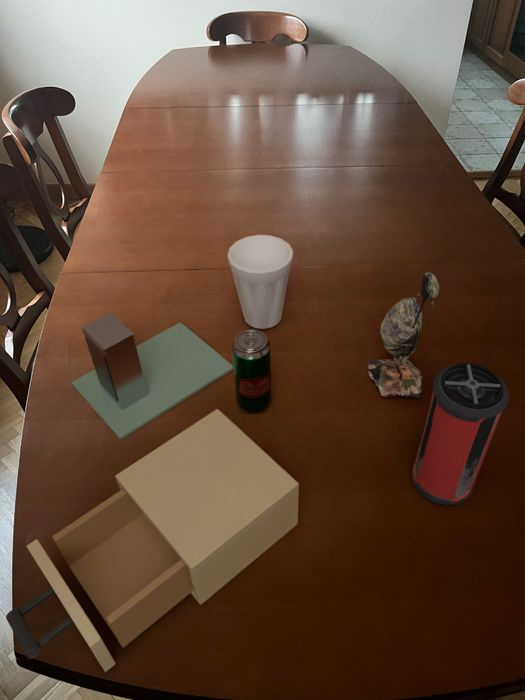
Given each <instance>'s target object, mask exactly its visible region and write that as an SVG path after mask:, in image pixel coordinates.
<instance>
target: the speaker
mask: <svg viewBox="0 0 525 700" xmlns="http://www.w3.org/2000/svg"><path fill="white" fill-rule="evenodd" d="M432 387H433V390H432V395H431V398H430V402H429V403H430V404H429V407H428V412H427V415H426V419H425V423H424V427H423V431H422V435H421V439H420V443H419V446H418V450H417V452H416V457H415V459H414V461H413V464H412V467H411V471H410V472H411V474H410V477H411V481H412V483H413V486H414V487H415V489H416V490H417V491H418V493H419V494H421V495H422V496H423V497H424V498H426V499H427V500H429V501H431V502H434V503H436V504H440V505H444V506H445V505H446V506H453V505H458V504H460V503H463V502H465V501H466V500H468V499H469V498H470V497H471V495H472V494H473V492H474V489H475V486H476V482H477V477H478V475H479V472H480V470H481V467H482V465H483V462H484V459H485V456H486V454H487V452H488V449H489V446H490V443H491V441H492V439H493V437H494V434H495V431H496V428H497V426H498V423H499V420H500V418H501V415H502V413H504V412H505V410H506V408H507V406H508V403H509V400H510V398H509V397H510V393H509V389H508V387H507V384H506V383H505V382H504V380H503V379H502V378H501V377H500V376H499V375H498V374H496V373H495V372H494V371H492V370H491V369H489V368H488V367H486V366H483V365H480V364H477V363H473V362H461V363H453V364H450V365H446V366H445V367H443V368H441V369H440V370H439V371H438V372H437V373H436V375H435V377H434V380H433V383H432Z"/></svg>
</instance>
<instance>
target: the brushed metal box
mask: <svg viewBox="0 0 525 700" xmlns="http://www.w3.org/2000/svg"><path fill="white" fill-rule="evenodd" d="M81 330H82V333H83V337H84V338H85V343H86V346H87V349H88V352H89V355H90V357H91V361H92V364H93V367H94V369H95V370H96V374H97V377H98V380H99V383H100V386H101V388H102V389H103V390H104V391H105V392H106V393H107V394H108V395H109V396H110V397H111V399H112V400H113V401H114V402H115V403H116V404H117V405H118V406H119V407H120V408H121V409H122V410H123V409H125V408H127V407H128V406H130V405H132V404H133V403H135V402H137V401H138V400H140V399H142V398H143V397H145V396H147V395H148V392H147V388H146V384H145V380H144V376H143V372H142V368H141V364H140V359H139V355H138V351H137V347H136V346H137V344H136V339H135V335H134V333H133V331H131V330H130V329H129V328H128V327H127V326H125V324H123V323H122V322H121V321H120V320H119V319H118V318H117V317H115V315H114V314H113V313H111V312H108V313H106V314H104V315H102V316H100V317H98V318H95V319H93V320H92V321H90V322H88V323H86V324H84V325H82V326H81Z"/></svg>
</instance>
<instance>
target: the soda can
mask: <svg viewBox="0 0 525 700" xmlns="http://www.w3.org/2000/svg"><path fill="white" fill-rule="evenodd" d="M231 352H232V353H231V356H232V365H233V367H234V369H233V379H234V388H235V399H236V400H235V401H236V405H237V406H238V407H239V409H240V410H242V411H245V412H247V413H252V414H254V413H260V412H263V411H265V410H266V409H268V407H269V406H270V405H271V403H272V400H273V399H272V398H273V396H272V394H273V393H272V359H271V358H272V357H271V356H272V355H271V354H272V353H271V343H270V341H269V340H268V337H267V336H266V334H265V333H264V332H262V331H259V330H256V329H247V330H242V331H240V332H239V333H238V334H237V335H235V338H234V340H233V342H232V345H231Z"/></svg>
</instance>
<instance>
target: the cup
mask: <svg viewBox="0 0 525 700" xmlns="http://www.w3.org/2000/svg"><path fill="white" fill-rule="evenodd" d="M293 257H294V250H293V248H292V246H291V244H290V243H288V241H285V240H284V239H282V238H281V237H278V236H275V235H271V234H255V235H248V236H245V237H243V238H240V239H238V240H236V241H235V242H234V243H233V244H232V245H231V246H230V247H229V249H228V252H227V261H228V265H229V268H230V269H231V270H230V271H231V274H232V276H233V277H232V278H233V281H234V285H235V288H236V292H237V297H238V299H239V305H240V308H241V312H242V316H243V319H244V321H245V323H246V324H248V326H249V327H251V328H254V329H261V330H262V329H270V328H273V327H274V326H276V325H278V324H279V323H280V321H281V320H282V317H283V316H282V315H283V309H284V304H285V298H286V292H287V287H288V283H289V282H288V281H289V275H290V270H291V269H292V263H293Z"/></svg>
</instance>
